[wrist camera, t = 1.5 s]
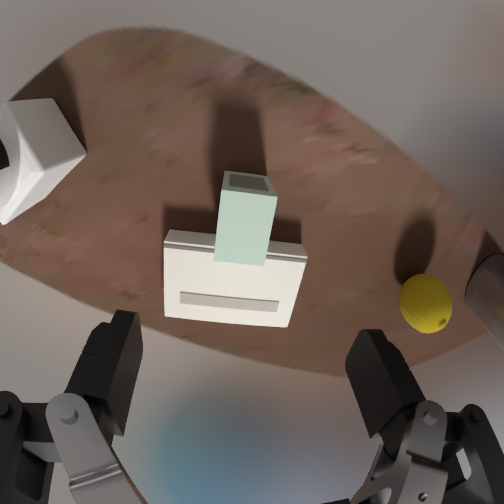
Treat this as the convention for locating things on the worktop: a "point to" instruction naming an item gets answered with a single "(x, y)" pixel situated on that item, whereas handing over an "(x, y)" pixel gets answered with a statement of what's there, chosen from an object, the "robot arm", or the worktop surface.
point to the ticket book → (230, 282)
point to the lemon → (425, 303)
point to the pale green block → (244, 218)
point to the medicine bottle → (33, 153)
